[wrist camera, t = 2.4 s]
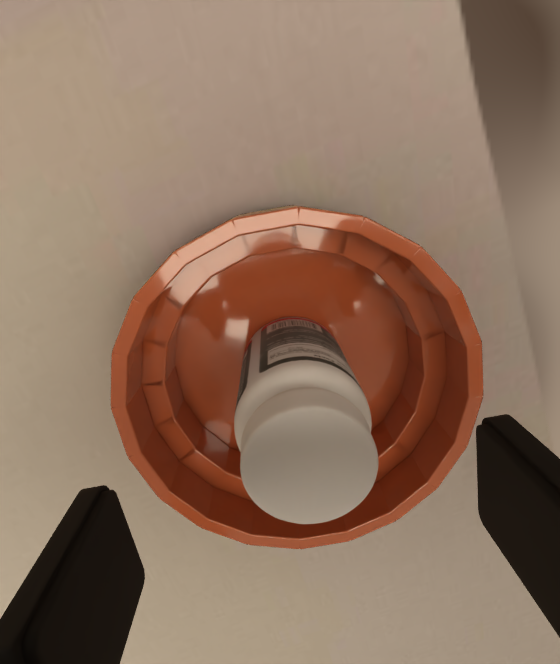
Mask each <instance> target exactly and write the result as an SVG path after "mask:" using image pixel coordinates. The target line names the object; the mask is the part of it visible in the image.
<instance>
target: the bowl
mask: <svg viewBox="0 0 560 664" xmlns="http://www.w3.org/2000/svg"><path fill="white" fill-rule="evenodd" d="M285 317H301V318H307V319H310V320H313V321H315V322H317V323H319V324H321V325H322V326H324V327H325V328H326V329H327V330H328V331H329V332H330V333H331V334H332V335H333V336H334V338H335V339H336V341H337V342H338V344H339V346H340V348H341V350H342V352H343V354H344V356H345V358H346V360H347V362H348V364H349V366H350V368H351V370H352V371H353V373H354V375H355V377H356V379H357V381H358V383H359V385H360V387H361V388H362V390H363V392H364V395H365V397H366V399H367V402H368V405H369V408H370V413H371V421H372V427H371V435H372V437H373V440H374V442H375V445H376V448H377V453H378V472H377V476H376V480H375V482H374V485H373V487H372V489H371V490H370V492H369V493H368V495H367V496H366V498H365V499H364V500H363V501H362V502H361V503H360V504H359V505H358V506H357V507H355V508H354V509H353V510H351V511H350V512H348V513H347V514H345V515H343V516H341V517H339V518H336V519H333V520H331V521H327V522H323V523H316V524H298V523H292V522H287V521H284V520H280V519H278V518H275V517H273V516H271V515H270V514H268V513H266V512H265V511H263V510H262V509H261V508H260V507H259V506H258V505H256V504H255V503H254V501H253V500H252V499H251V498H250V496H249V495H248V493H247V491H246V489H245V487H244V485H243V482H242V478H241V472H240V457H241V452H240V450H239V448H238V445H237V442H236V438H235V431H234V416H235V408H236V402H237V396H238V390H239V383H240V376H241V369H242V362H243V356H244V352H245V349H246V347H247V345H248V343H249V341H250V340H251V338H252V337H253V335H254V334H255V333H256V332H257V331H258V330H259V329H261V328H262V327H263V326H265V325H266V324H268V323H270V322H272V321H274V320H277V319H280V318H285ZM482 396H483V365H482V341H481V338H480V336H479V333H478V331H477V328H476V326H475V323H474V321H473V318H472V316H471V313H470V311H469V308H468V306H467V303H466V301H465V298H464V296H463V293H462V291H461V290H460V288H459V287H458V286H457V285H456V284H455V283H454V282H453V281H452V279H451V278H450V277H449V276H448V275H447V274H446V273H445V272H444V271H443V270H442V268H441V267H440V266H439V265H438V264H437V263H436V262H435V261H434V260H433V258H432V257H431V256H430V255H429V254H428V253H427V252H426V251H425V250H424V249H423V247H421V246H420V245H419V244H417V243H415V242H413V241H411V240H409V239H407V238H405V237H403V236H401V235H400V234H398V233H396V232H394V231H392V230H390V229H388V228H386V227H384V226H382V225H380V224H379V223H377V222H375V221H373V220H371V219H369V218H367V217H363V216H361V215H355V214H349V213H343V212H336V211H329V210H322V209H316V208H309V207H302V206H295V205H292V206H291V205H289V206H283V207H278V208H272V209H267V210H261V211H256V212H251V213H245V214H240V215H238V216H236V217H234V218H232V219H230V220H228V221H226V222H225V223H223V224H221V225H219V226H217V227H216V228H214V229H212V230H210V231H208V232H207V233H205V234H203V235H201V236H200V237H198V238H196V239H194V240H192V241H191V242H189V243H187V244H185V245H184V246H182V247H180V248H178V249H176V250H175V251H174V252H173V253H172V254H171V255H170V256H169V257H168V258H167V259H166V261H165V262H164V263H163V264H162V265H161V266H160V267H159V268H158V270H157V271H156V272H155V273H154V274H153V275H152V276H151V278H150V279H149V280H148V281H147V282H146V283H145V284H144V286H143V287H142V288H141V289H140V290H139V291H138V292H137V293H136V295H135V296H134V297H133V299H132V301H131V304H130V306H129V309H128V311H127V314H126V316H125V319H124V322H123V324H122V327H121V329H120V332H119V334H118V337H117V339H116V342H115V345H114V347H113V350H112V362H111V410H112V413H113V416H114V418H115V421H116V424H117V427H118V430H119V433H120V436H121V439H122V442H123V445H124V448H125V451H126V454H127V456H128V458H129V460H130V461H131V462H132V464H133V465H134V466H135V467H136V469H137V470H138V471H139V473H140V474H141V475H142V477H143V478H144V479H145V481H146V482H147V483H148V484H149V486H150V487H151V488H152V490H153V491H154V492H155V494H156V495H157V496H158V497H159V498H160V499H161V500H162V501H164V502H165V503H166V504H168V505H169V506H171V507H172V508H173V509H175V510H176V511H178V512H179V513H180V514H182V515H183V516H185V517H186V518H187V519H189V520H190V521H192V522H193V523H194V524H196V525H197V526H199V527H201V528H203V529H205V530H208V531H211V532H214V533H216V534H219V535H222V536H225V537H228V538H230V539H233V540H236V541H239V542H242V543H244V544H247V545H248V544H249V545H256V546H268V547H279V548H291V549H299V548H300V549H305V548H311V547H317V546H323V545H329V544H336V543H342V542H348V541H350V540H354V539H356V538H358V537H360V536H363V535H365V534H367V533H370V532H372V531H374V530H376V529H379V528H381V527H383V526H386V525H388V524H390V523H392V522H395V521H396V519H397V520H398V519H400V518H401V517H402V516H403V515H405V514H406V513H407V512H408V511H410V510H411V509H412V508H413V507H415V506H416V505H417V504H418V503H420V502H421V501H422V500H423V499H425V498H426V497H427V496H428V495H430V494H431V493H432V492H433V491H435V490H436V489H437V488H438V487H439V486H440V484H441V483H442V481H443V480H444V478H445V477H446V476H447V474H448V473H449V471H450V470H451V469H452V467H453V466H454V464H455V463H456V462H457V460H458V459H459V457H460V456H461V455H462V453H463V452H464V450H465V449H466V447H467V445H468V442H469V439H470V436H471V433H472V430H473V427H474V424H475V421H476V417H477V414H478V411H479V408H480V405H481V402H482V399H483V397H482Z"/></svg>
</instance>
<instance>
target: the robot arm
mask: <svg viewBox="0 0 560 664" xmlns="http://www.w3.org/2000/svg"><path fill="white" fill-rule="evenodd" d="M476 443H477V479H478V510H479V515H480V518H481V521H482V523H483V525H484V527H485V528H486V530H487V531H488V533H489V534H490V535H491V537H492V538H493V540H494V541H495V543H496V544H497V546H498V547H499V549H500V550H501V552H502V553H503V555H504V556H505V558H506V559H507V561H508V562H509V563H510V565H511V566H512V568H513V569H514V571H515V572H516V574H517V575H518V577H519V578H520V580H521V581H522V583H523V584H524V586H525V587H526V589H527V590H528V591H529V593H530V594H531V596H532V597H533V599H534V600H535V602H536V603H537V605H538V606H539V608H540V609H541V611H542V612H543V614H544V615H545V616H546V618H547V619H548V621H549V622H550V624H551V625H552V627H553V628H554V630H555V631H556V633H557V634H558V636H559V637H560V459H559V458H558V457H557V456H556V455H555V454H554V453H553V452H551V451H550V450H549V449H548V448H547V447H546V446H545V445H543V444H542V443H541V442H540V441H539V440H538V439H537V438H535V437H534V436H533V435H532V434H531V433H530V432H529V431H527V430H526V429H525V428H524V427H523V426H522V425H520V424H519V423H518V422H517V421H516V420H515V419H514V418H512V417H511V416H510V415H507V414H505V415H500V416H494V417H488V418H484V419H483V421H482V425H478V426H477V428H476ZM144 579H145V573H144V568H143V565H142V562H141V559H140V557H139V554H138V551H137V548H136V546H135V543H134V540H133V538H132V535H131V532H130V529H129V527H128V524H127V521H126V518H125V516H124V513H123V510H122V508H121V505H120V502H119V499H118V497H117V494H116V492H115V491H114V490H109V488H108V487H107V486H104V485H103V486H98V487H92V488H86V489H82V490H81V491H80V492H79V493H78V495H77V496H76V498H75V499H74V501H73V503H72V504H71V506H70V507H69V509H68V511H67V512H66V514H65V516H64V517H63V519H62V520H61V522H60V524H59V525H58V527H57V528H56V530H55V532H54V533H53V535H52V537H51V538H50V540H49V541H48V543H47V545H46V546H45V548H44V549H43V551H42V553H41V554H40V556H39V558H38V559H37V561H36V562H35V564H34V566H33V567H32V569H31V570H30V572H29V574H28V575H27V577H26V578H25V580H24V582H23V583H22V585H21V587H20V588H19V590H18V591H17V593H16V595H15V596H14V598H13V599H12V601H11V603H10V604H9V606H8V608H7V609H6V611H5V612H4V614H3V616H2V617H1V619H0V664H120V661H121V658H122V654H123V651H124V648H125V644H126V641H127V638H128V635H129V631H130V628H131V625H132V621H133V618H134V615H135V612H136V608H137V605H138V602H139V598H140V595H141V592H142V589H143V585H144Z"/></svg>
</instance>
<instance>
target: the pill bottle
mask: <svg viewBox="0 0 560 664" xmlns="http://www.w3.org/2000/svg"><path fill="white" fill-rule="evenodd" d="M371 427H372V421H371V413H370V408H369V405H368V402H367V399H366V397H365V395H364V392H363V390H362V388H361V387H360V385H359V383H358V381H357V379H356V377H355V375H354V373H353V371H352V370H351V368H350V366H349V364H348V362H347V360H346V358H345V356H344V354H343V352H342V350H341V348H340V346H339V344H338V342H337V341H336V339H335V338H334V336H333V335H332V334H331V333H330V332H329V331H328V330H327V329H326V328H325V327H324V326H322V325H321V324H319V323H317V322H315V321H313V320H310V319H307V318H301V317H285V318H280V319H277V320H274V321H272V322H270V323H268V324H266V325H265V326H263V327H262V328H261V329H259V330H258V331H257V332H256V333H255V334H254V335H253V337H252V338H251V340H250V341H249V343H248V345H247V347H246V349H245V352H244V356H243V362H242V369H241V376H240V383H239V390H238V396H237V402H236V408H235V416H234V431H235V438H236V442H237V445H238V448H239V450H240V452H241V457H240V472H241V478H242V482H243V485H244V487H245V489H246V491H247V493H248V495H249V496H250V498H251V499H252V500H253V501H254V503H255V504H256V505H258V506H259V507H260V508H261V509H262V510H263V511H265V512H266V513H268V514H270V515H271V516H273V517H275V518H278V519H280V520H284V521H287V522H292V523H298V524H316V523H323V522H327V521H331V520H333V519H336V518H339V517H341V516H343V515H345V514H347V513H348V512H350V511H351V510H353V509H354V508H355V507H357V506H358V505H359V504H360V503H361V502H362V501H363V500H364V499H365V498H366V496H367V495H368V493H369V492H370V490H371V489H372V487H373V485H374V482H375V480H376V476H377V472H378V453H377V448H376V445H375V442H374V440H373V437H372V435H371Z"/></svg>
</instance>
